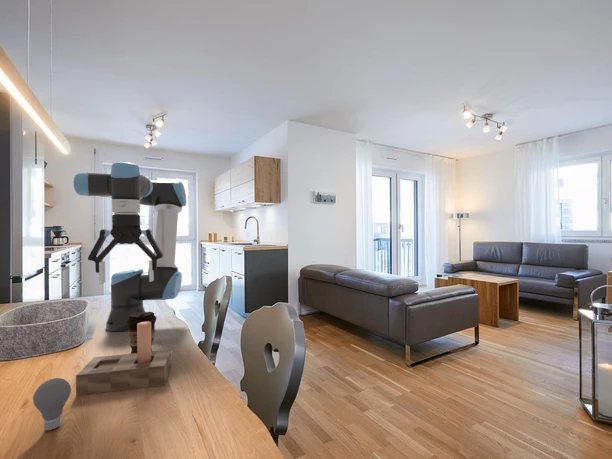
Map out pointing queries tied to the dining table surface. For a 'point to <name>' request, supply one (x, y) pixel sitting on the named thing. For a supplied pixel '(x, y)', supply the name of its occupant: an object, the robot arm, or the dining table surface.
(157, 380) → the bore block
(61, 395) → the light bulb
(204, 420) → the dining table surface
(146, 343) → the dowel
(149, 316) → the coffee cup
